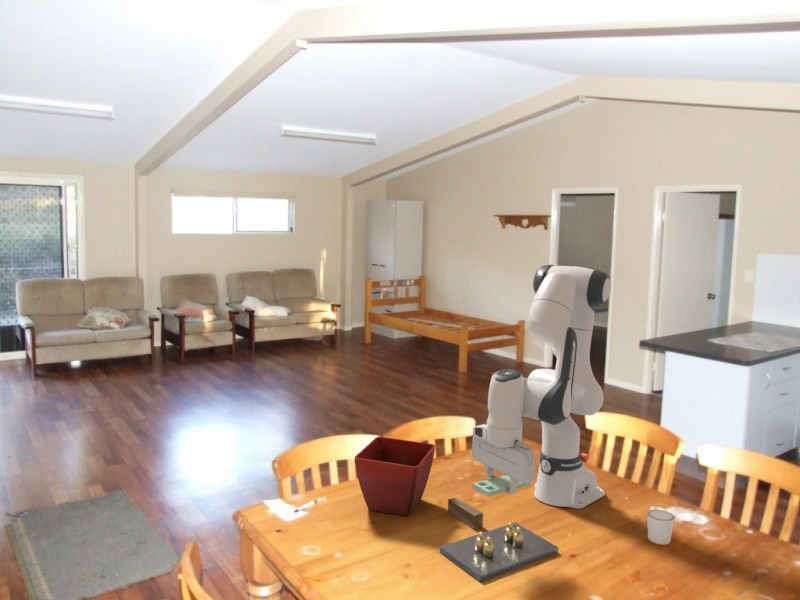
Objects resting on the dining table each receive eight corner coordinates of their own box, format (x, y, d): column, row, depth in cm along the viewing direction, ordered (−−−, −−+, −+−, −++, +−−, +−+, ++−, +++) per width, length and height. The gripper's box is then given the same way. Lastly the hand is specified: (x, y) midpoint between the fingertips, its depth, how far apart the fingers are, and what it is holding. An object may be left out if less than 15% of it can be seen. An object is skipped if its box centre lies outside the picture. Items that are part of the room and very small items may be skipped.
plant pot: (416, 524, 185) (417, 466, 183) (352, 513, 191) (353, 457, 189) (434, 497, 203) (436, 444, 201) (376, 487, 209) (377, 436, 207)
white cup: (672, 535, 182) (674, 511, 181) (673, 547, 175) (675, 522, 174) (645, 531, 184) (647, 507, 183) (645, 542, 178) (647, 518, 177)
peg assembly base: (515, 527, 185) (516, 506, 184) (558, 552, 171) (559, 530, 170) (439, 552, 170) (440, 529, 170) (479, 582, 157) (480, 557, 156)
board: (487, 496, 162) (488, 492, 162) (472, 487, 167) (472, 483, 167) (529, 485, 170) (530, 480, 169) (513, 477, 175) (514, 472, 174)
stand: (456, 510, 195) (456, 497, 194) (482, 526, 185) (483, 513, 184) (447, 512, 193) (448, 499, 192) (474, 529, 183) (474, 515, 182)
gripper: (543, 445, 160) (539, 500, 161) (487, 422, 177) (485, 472, 178) (523, 450, 156) (520, 506, 158) (468, 425, 173) (466, 476, 175)
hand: (501, 487), depth 168 cm, fingers closed on board, 6 cm apart
